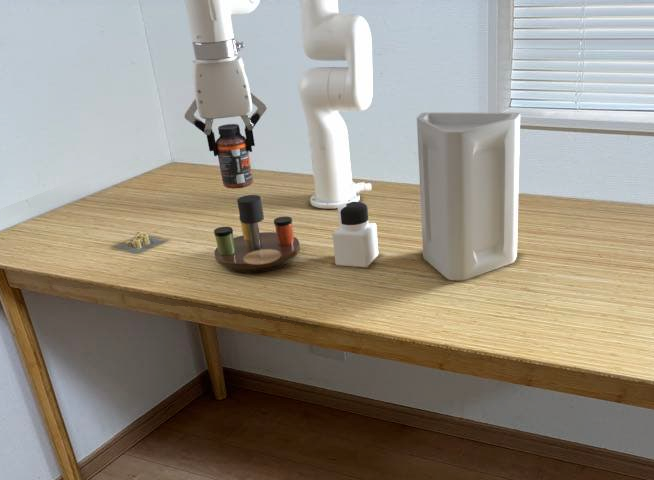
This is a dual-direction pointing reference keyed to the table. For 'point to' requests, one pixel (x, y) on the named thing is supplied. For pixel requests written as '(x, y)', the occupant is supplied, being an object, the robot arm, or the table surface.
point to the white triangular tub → (469, 191)
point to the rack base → (260, 268)
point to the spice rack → (255, 239)
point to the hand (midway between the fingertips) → (232, 151)
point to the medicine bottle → (355, 236)
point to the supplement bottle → (233, 157)
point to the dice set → (139, 243)
